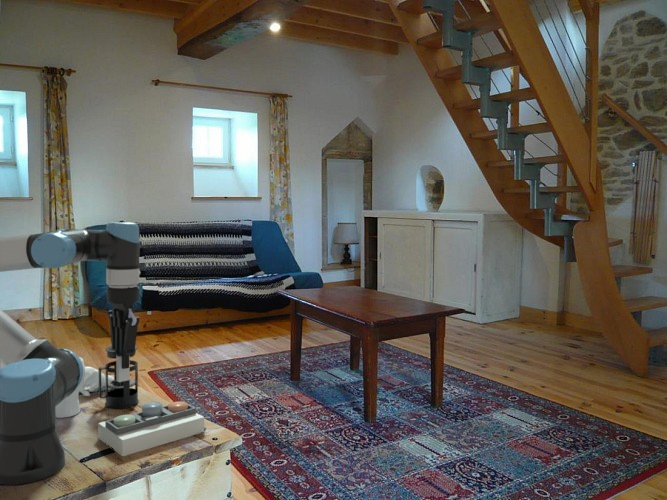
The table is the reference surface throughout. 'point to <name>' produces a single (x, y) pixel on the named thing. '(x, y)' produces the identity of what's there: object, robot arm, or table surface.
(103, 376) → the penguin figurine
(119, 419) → the button sage
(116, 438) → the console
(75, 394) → the cup
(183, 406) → the button terracotta
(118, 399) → the french press
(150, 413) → the button slate
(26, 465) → the robot arm
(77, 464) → the table surface
